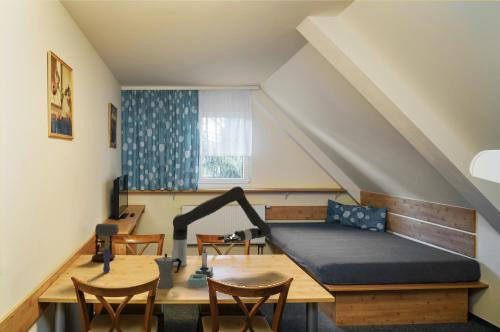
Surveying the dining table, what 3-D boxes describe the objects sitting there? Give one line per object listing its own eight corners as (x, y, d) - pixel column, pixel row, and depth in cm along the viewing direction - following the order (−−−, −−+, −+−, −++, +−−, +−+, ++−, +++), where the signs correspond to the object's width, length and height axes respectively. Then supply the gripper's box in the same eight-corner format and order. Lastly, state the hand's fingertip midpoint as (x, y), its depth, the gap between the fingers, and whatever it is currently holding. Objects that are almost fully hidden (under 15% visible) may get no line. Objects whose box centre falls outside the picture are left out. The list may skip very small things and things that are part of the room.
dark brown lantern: (117, 256, 255) (118, 228, 254) (111, 262, 240) (111, 233, 239) (96, 256, 254) (96, 228, 253) (88, 262, 239) (88, 232, 239)
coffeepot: (151, 288, 195) (151, 255, 195) (155, 282, 205) (156, 251, 204) (179, 289, 195) (180, 256, 195) (182, 283, 205) (183, 251, 204)
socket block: (195, 277, 215) (195, 270, 215) (198, 272, 224) (198, 266, 224) (210, 278, 214) (210, 271, 214) (212, 273, 223) (212, 266, 223)
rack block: (187, 286, 200) (187, 279, 200) (191, 280, 209) (191, 274, 209) (204, 287, 199) (204, 280, 199) (207, 281, 209) (207, 274, 208)
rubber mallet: (118, 270, 225) (119, 222, 224) (115, 274, 218) (115, 224, 217) (98, 270, 224) (99, 222, 224) (93, 274, 217) (94, 224, 216)
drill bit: (200, 276, 218) (201, 248, 217) (201, 274, 221) (202, 246, 220) (206, 276, 217) (206, 248, 217) (207, 274, 221) (207, 247, 220)
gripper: (236, 228, 240) (215, 232, 231) (248, 231, 228) (226, 235, 219) (237, 239, 240) (215, 243, 231) (249, 243, 228) (226, 248, 219)
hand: (220, 239), depth 225 cm, fingers open, 8 cm apart
